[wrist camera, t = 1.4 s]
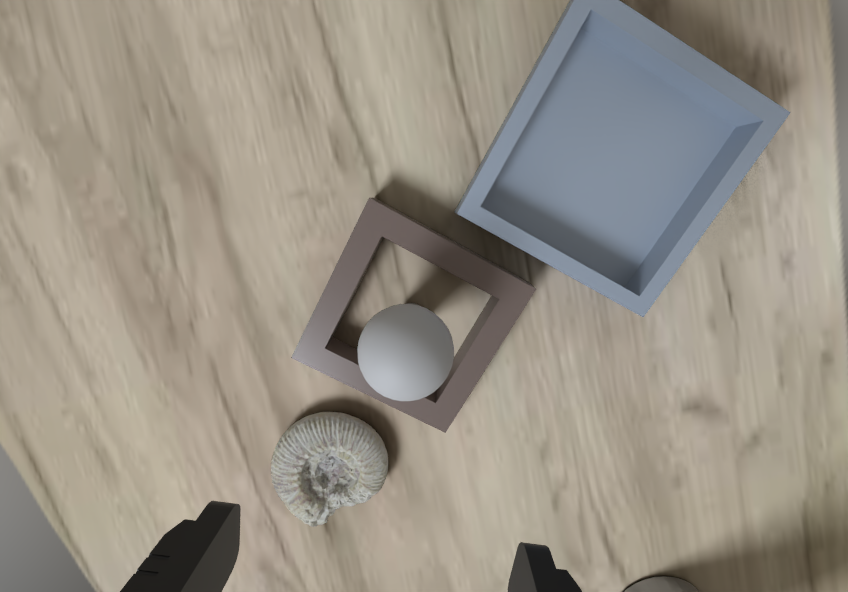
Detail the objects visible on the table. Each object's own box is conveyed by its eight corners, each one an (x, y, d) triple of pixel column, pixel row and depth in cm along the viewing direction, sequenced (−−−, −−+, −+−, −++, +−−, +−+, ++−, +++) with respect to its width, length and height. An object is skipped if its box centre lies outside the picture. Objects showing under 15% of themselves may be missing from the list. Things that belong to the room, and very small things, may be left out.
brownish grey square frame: (528, 281, 32) (536, 289, 29) (444, 416, 35) (445, 432, 32) (374, 197, 30) (369, 197, 28) (301, 345, 33) (291, 357, 31)
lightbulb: (377, 275, 32) (350, 316, 21) (452, 282, 32) (462, 326, 21) (373, 345, 33) (346, 416, 23) (444, 351, 33) (451, 425, 23)
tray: (753, 121, 28) (790, 112, 25) (623, 306, 32) (643, 317, 29) (569, 1, 27) (585, -22, 24) (454, 211, 30) (456, 213, 27)
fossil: (339, 558, 34) (242, 499, 34) (352, 525, 38) (264, 472, 38) (402, 467, 32) (297, 402, 32) (409, 441, 35) (315, 383, 35)
